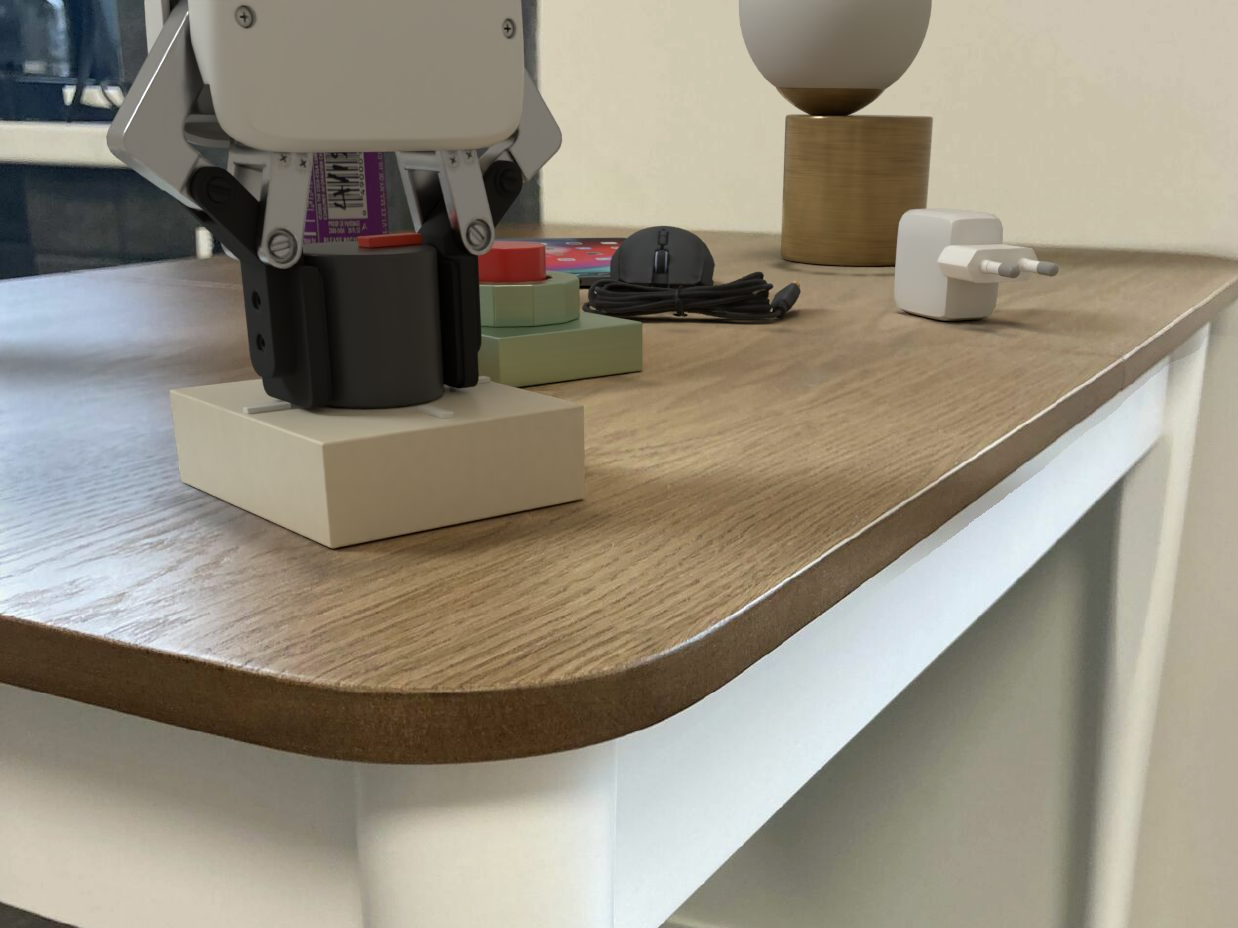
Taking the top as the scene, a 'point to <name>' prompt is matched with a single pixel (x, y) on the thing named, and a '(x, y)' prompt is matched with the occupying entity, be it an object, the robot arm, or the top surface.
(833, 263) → the lamp
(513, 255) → the power button
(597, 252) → the tablet
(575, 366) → the switch block
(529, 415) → the control box
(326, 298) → the knob
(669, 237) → the computer mouse
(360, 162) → the beverage can
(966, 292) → the power adapter
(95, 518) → the top surface
